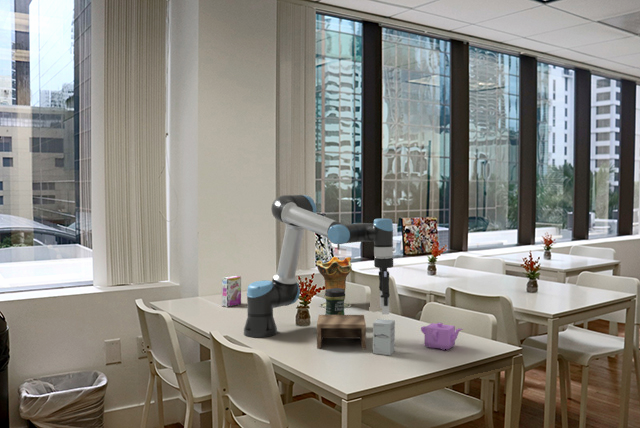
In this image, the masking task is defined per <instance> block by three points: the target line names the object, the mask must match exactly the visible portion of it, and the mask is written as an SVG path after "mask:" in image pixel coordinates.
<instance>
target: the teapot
mask: <svg viewBox="0 0 640 428" xmlns="http://www.w3.org/2000/svg"><path fill="white" fill-rule="evenodd" d="M461 330H463V328H457V329H456V326H455V325H449V324H444V323H442V322H437V323H434V322H432V323H430V324H428V325H426V326H421V327H420V331H421V332H422V334H423V335H424V347H428V348H430V349H440V350H441V349H442V350H441V351H446V350H450V349H451V348H452V347H454V346H455V345H456V340H457V339H458V335H459V332H461ZM445 349H446V350H445Z"/></svg>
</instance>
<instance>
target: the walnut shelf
mask: <svg viewBox="0 0 640 428" xmlns="http://www.w3.org/2000/svg"><path fill="white" fill-rule="evenodd" d="M366 332H367V324H366V318H365V314H345V315H325V314H318V317H317V322H316V349H322V343H323V339H360V345H361V349H363V350H366V349H367V344H366V343H367V342H366V341H367V333H366Z"/></svg>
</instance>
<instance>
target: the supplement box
mask: <svg viewBox="0 0 640 428" xmlns="http://www.w3.org/2000/svg"><path fill="white" fill-rule="evenodd" d="M395 325H396V320H393V319H392V320H391V319H384V318H383V319H382V318H377V319H375V320H374V321H373V323H372V354H374V355H375V354H377V355H384V356H385V355H387V356H391V355H392V354H393V353H394V352H395V340H396V337H395V335H396V334H395V333H396V331H395V330H396V329H395V328H396V326H395Z"/></svg>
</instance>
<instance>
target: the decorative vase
mask: <svg viewBox="0 0 640 428" xmlns="http://www.w3.org/2000/svg"><path fill="white" fill-rule="evenodd" d="M351 261H352V257H350V256H348V257H345V258H344V259H343V260H341V259H340V258H338V256H333V257H332V258H331V259H330V261H327V262H323V261H322V260H317V261H316V266H317V271H318V273H319V274H320V275H321V276H322V277H323V280H324V289H325V291H326V289H332V288H342V289H344V290H345V291H346V289H347V287H346V285H347V284H346V281H347V278H348V275H350V273H351V272H352V270H353V268H352V262H351ZM325 305H326V302H323V303H321V304H320V305H319V306H320V307H322V308H325V309H326V306H325ZM350 307H352V304H350V303H345V302H344V309H346V308H350Z"/></svg>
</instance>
